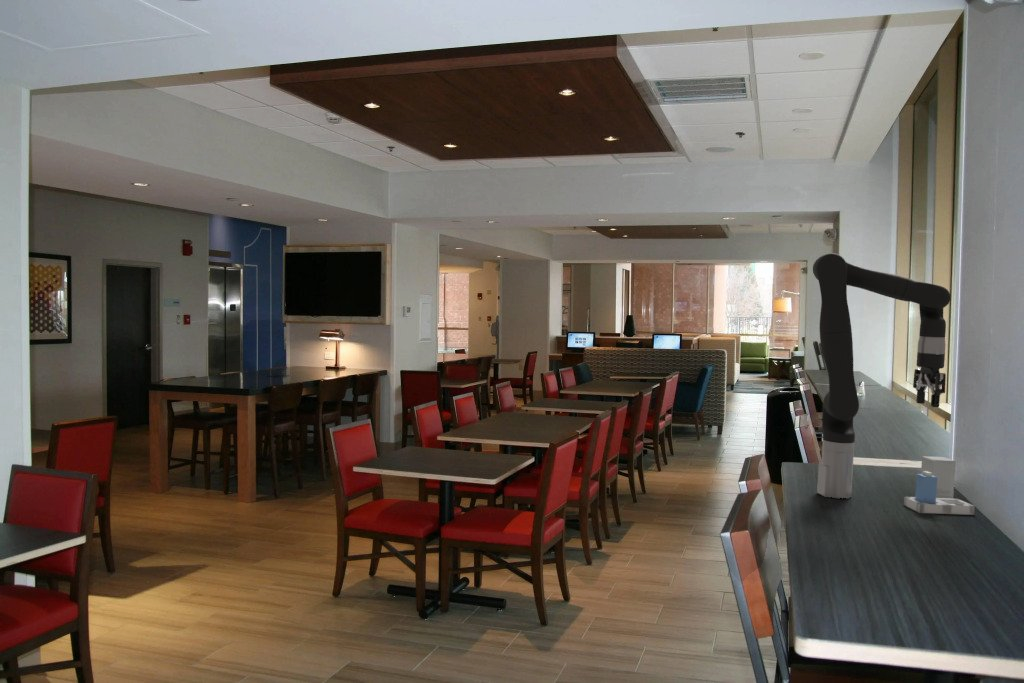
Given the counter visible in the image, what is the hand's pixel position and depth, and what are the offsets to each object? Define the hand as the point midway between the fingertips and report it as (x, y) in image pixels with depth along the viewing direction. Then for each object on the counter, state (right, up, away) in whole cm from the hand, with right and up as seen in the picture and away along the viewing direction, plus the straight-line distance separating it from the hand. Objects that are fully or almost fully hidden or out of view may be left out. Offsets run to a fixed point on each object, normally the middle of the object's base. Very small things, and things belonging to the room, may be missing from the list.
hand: (927, 405), depth 255 cm
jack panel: (-1, -31, -8) cm, 32 cm away
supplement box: (+8, -30, +10) cm, 33 cm away
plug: (-5, -30, -8) cm, 31 cm away
